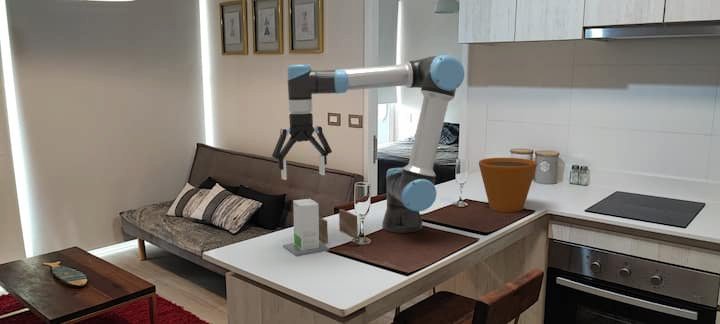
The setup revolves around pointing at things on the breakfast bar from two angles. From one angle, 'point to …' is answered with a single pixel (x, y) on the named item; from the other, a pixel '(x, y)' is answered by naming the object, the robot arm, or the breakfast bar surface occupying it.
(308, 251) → the slate coaster
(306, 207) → the skincare box
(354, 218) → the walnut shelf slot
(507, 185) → the flower pot
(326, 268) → the breakfast bar surface
